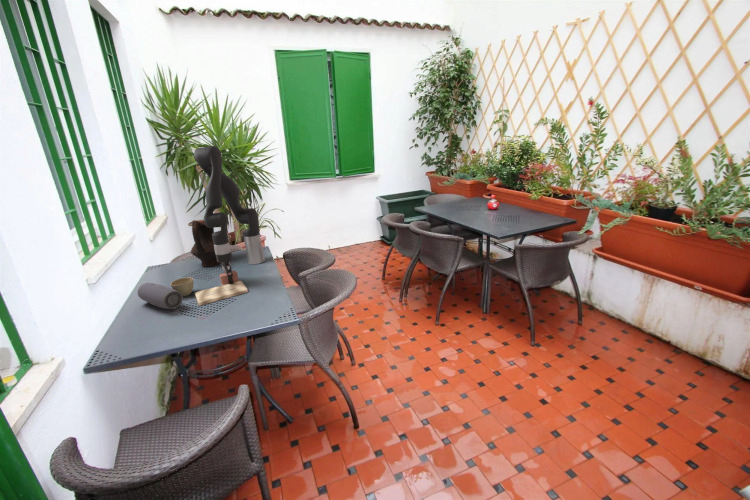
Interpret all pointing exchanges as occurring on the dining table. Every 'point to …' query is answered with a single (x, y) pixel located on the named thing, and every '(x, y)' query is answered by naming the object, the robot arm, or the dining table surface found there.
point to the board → (220, 292)
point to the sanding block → (225, 280)
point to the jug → (203, 243)
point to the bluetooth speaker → (160, 295)
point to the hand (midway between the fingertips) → (229, 281)
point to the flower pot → (183, 285)
